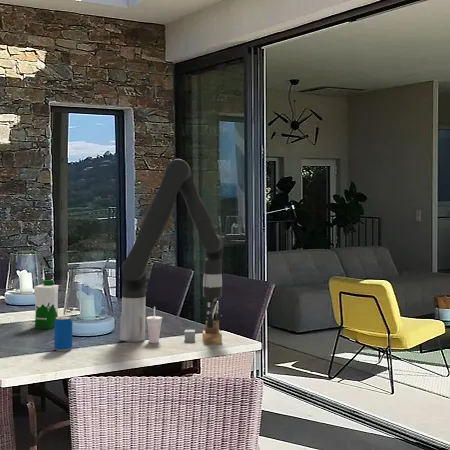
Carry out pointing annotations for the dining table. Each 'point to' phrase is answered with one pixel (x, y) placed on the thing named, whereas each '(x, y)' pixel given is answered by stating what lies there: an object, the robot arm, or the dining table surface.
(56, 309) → the milk carton
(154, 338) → the smoothie
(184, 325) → the dining table surface
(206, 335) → the teak block
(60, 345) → the beverage can
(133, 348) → the dining table surface
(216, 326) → the walnut cube
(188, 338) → the slate-grey cube
